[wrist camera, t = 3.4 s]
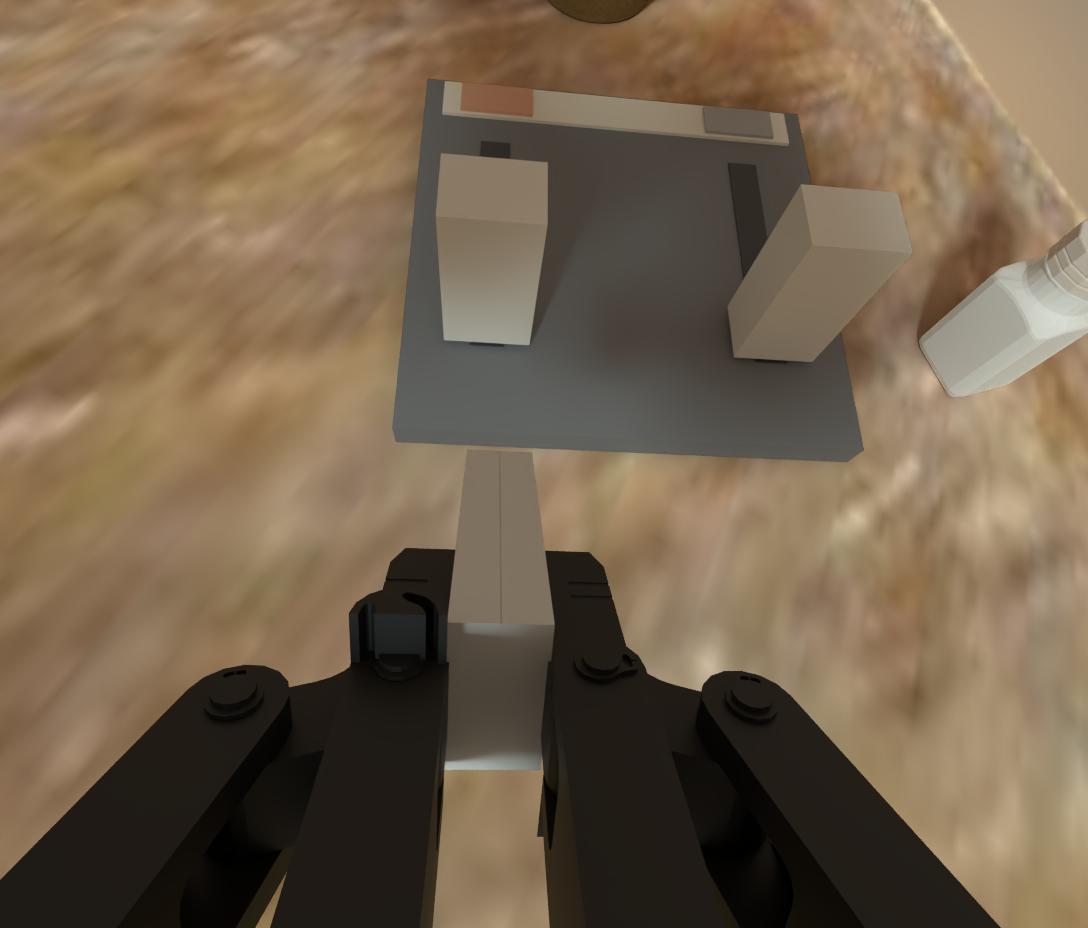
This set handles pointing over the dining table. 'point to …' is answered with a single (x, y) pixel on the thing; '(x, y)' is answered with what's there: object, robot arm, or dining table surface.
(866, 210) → the tab
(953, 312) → the pepper shaker
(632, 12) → the plant pot
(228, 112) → the dining table surface
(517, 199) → the tab
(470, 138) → the switch panel
